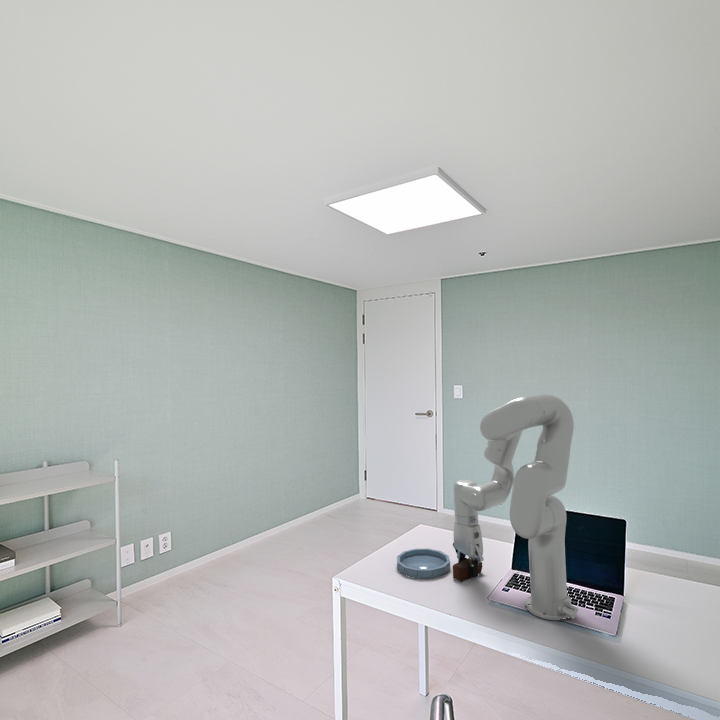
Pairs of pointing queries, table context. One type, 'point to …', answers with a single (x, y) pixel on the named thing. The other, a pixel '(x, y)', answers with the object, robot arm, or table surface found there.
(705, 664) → the table surface
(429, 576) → the dish
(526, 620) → the table surface
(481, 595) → the table surface
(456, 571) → the brick
